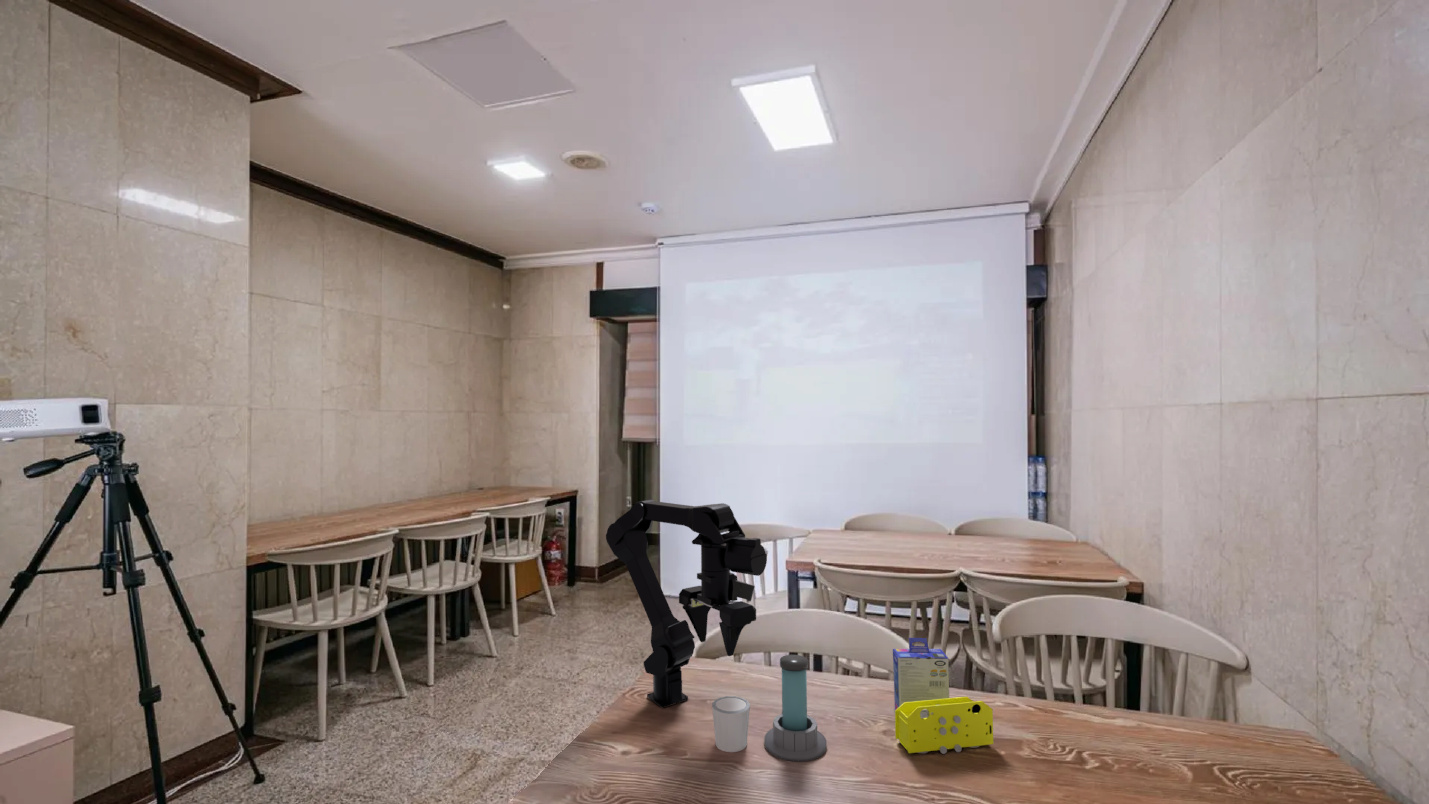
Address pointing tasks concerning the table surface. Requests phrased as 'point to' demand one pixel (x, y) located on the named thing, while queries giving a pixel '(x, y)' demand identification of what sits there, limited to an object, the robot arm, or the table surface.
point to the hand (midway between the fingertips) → (716, 648)
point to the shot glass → (731, 723)
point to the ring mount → (795, 741)
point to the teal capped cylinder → (794, 692)
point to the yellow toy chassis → (943, 724)
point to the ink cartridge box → (920, 673)
